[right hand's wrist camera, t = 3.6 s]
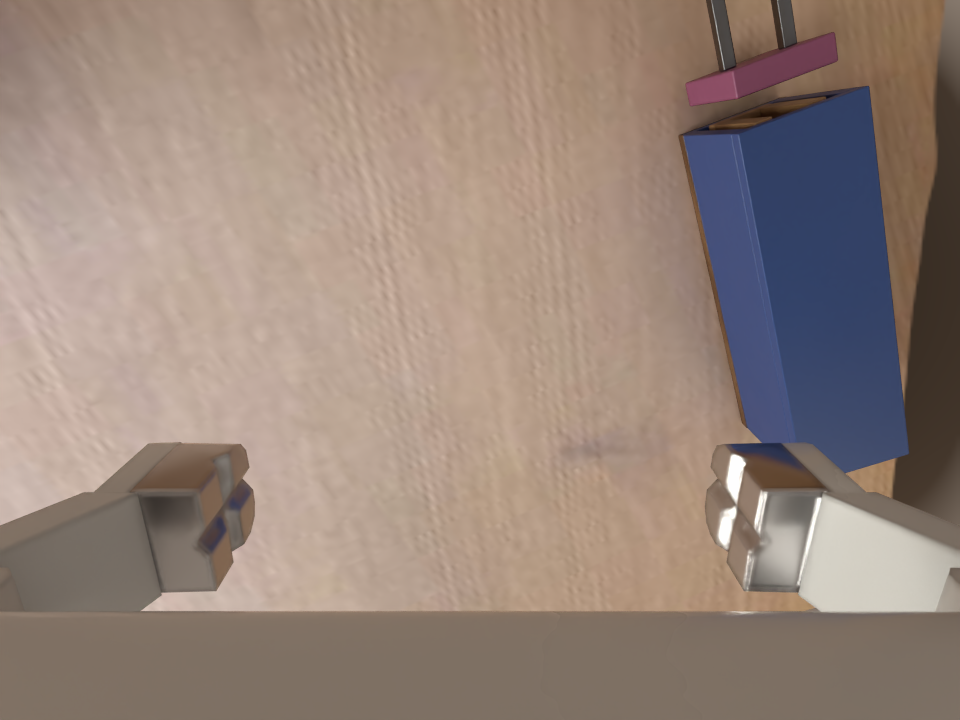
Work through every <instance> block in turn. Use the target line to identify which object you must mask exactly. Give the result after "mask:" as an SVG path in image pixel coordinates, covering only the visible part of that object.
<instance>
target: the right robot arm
mask: <svg viewBox="0 0 960 720" xmlns="http://www.w3.org/2000/svg"><path fill="white" fill-rule="evenodd" d="M248 469H249V463H248V458H247V453H246V450H245V448H244V447H243V446H242V445H241V444H213V443H181V442H173V443H151V444H147V445H146V446H145V447H144V448H143V449H142V450H141V451H140V452H138V453H137V454H136V455H135V456H134V457H133V458H132V459H131V460H129V461H128V462H127V463H126V464H125V465H124V466H123V467H122V468H120V469H119V470H118V471H117V472H116V473H115V474H114V475H113V476H111V477H110V478H109V479H108V480H107V481H106V482H105V483H104V484H103V485H101V486H100V487H99V488H98V489H97V490H96V491H95V492H84V493H81V494H79V495H76V496H74V497H71V498H69V499H66V500H64V501H61V502H58V503H56V504H53V505H51V506H48V507H46V508H43V509H41V510H38V511H36V512H33V513H31V514H28V515H26V516H23V517H21V518H18V519H16V520H13V521H11V522H8V523H5V524H3V525H0V720H960V526H959V525H957V524H954V523H952V522H949V521H947V520H944V519H942V518H939V517H937V516H934V515H932V514H929V513H927V512H924V511H921V510H919V509H917V508H914V507H912V506H909V505H906V504H904V503H901V502H899V501H896V500H894V499H891V498H889V497H886V496H884V495H881V494H879V493H876V492H865V491H864V490H863V489H862V488H861V487H860V486H859V485H858V484H856V483H855V482H854V481H853V480H852V479H851V478H850V477H849V476H847V475H846V474H845V473H844V472H843V471H842V470H841V469H840V468H839V467H837V466H836V465H835V464H834V463H833V462H832V461H831V460H830V459H828V458H827V457H826V456H825V455H824V454H823V453H822V452H821V451H819V450H818V449H817V448H816V447H815V446H814V445H813V444H809V443H806V442H798V443H750V444H722V445H717V446H716V448H715V451H714V453H713V456H712V462H711V469H712V470H713V472H714V473H715V475H716V476H717V478H718V479H717V480H716V481H715V482H714V483H713V484H712V485H711V486H710V487H709V488H708V489H707V494H706V502H705V513H706V523H707V526H708V529H709V532H710V534H711V536H712V538H713V540H714V542H715V543H716V544H717V545H718V546H720V547H722V548H723V549H725V550H726V551H728V556H727V564H728V565H729V567H730V569H731V570H732V572H733V574H734V575H735V577H736V579H737V580H738V582H739V584H740V585H741V587H742V589H743V590H744V591H760V592H797V593H799V594H798V595H799V596H800V597H802V598H803V599H804V600H806V601H807V602H809V603H810V604H811V605H813V606H814V607H815V608H817V609H818V610H819V611H141V610H142V609H144V608H145V607H146V606H148V605H149V604H150V603H152V602H153V601H154V600H156V599H157V598H158V597H160V596H161V595H162V594H161V593H163V592H199V591H217V589H218V587H219V586H220V584H221V582H222V581H223V579H224V577H225V575H226V574H227V572H228V570H229V569H230V567H231V565H232V564H233V556H232V551H234V550H235V549H237V548H238V547H240V546H242V545H243V544H244V543H245V542H246V540H247V538H248V536H249V534H250V533H251V529H252V525H253V521H254V516H255V500H254V493H253V489H252V488H251V487H250V486H249V485H248V484H247V483H246V482H245V481H244V480H243V479H242V478H243V476H244V475H245V473H246V472H247V470H248Z"/></svg>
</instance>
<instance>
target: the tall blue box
mask: <svg viewBox="0 0 960 720" xmlns="http://www.w3.org/2000/svg"><path fill="white" fill-rule="evenodd" d="M818 97H826V99H825V100H822V101H820V102H817V103H814V104H811V105H809V106H806V107H803V108H801V109H798V110H795V111H793V112H790V113H787V114H784V115H782V116H779V117H776V118H774V119H771V120H768V121H765V122H763V123H760V124H757V125H755V126H752V127H749V128H747V129H729V130H709V126H710V125H712V124H715V123H717V122H720V121H723V120H725V119H728V118H731V117H733V116H736V115H739V114H742V113H744V112H747V111H750V110H752V109H755V108H758V107H760V106H763V105H766V104H773V103H779V102H786V101H794V100H802V99H810V98H818ZM763 105H760V106H757V107H755V108H752V109H749V110H747V111H744V112H741V113H739V114H736V115H733V116H731V117H728V118H725V119H722V120H720V121H717V122H714V123H712V124H709V125H706V126H704V127H701V128H698V129H696V130H693V131H690V132H688V133H685V134H682V135H679V141H680V145H681V150H682V154H683V159H684V163H685V168H686V172H687V177H688V181H689V186H690V190H691V195H692V199H693V204H694V208H695V213H696V217H697V222H698V226H699V231H700V235H701V240H702V244H703V249H704V253H705V258H706V262H707V267H708V271H709V276H710V280H711V285H712V289H713V294H714V298H715V303H716V307H717V312H718V316H719V321H720V325H721V330H722V334H723V339H724V343H725V348H726V352H727V357H728V361H729V366H730V370H731V375H732V379H733V384H734V388H735V393H736V397H737V402H738V406H739V411H740V415H741V420H742V423H743V424H744V425H745V427H746V428H748V429H749V430H750V431H751V432H752V433H753V434H754V435H755V436H756V437H757V438H758V439H759V440H760V441H761V442H762V443H798V442H806V443H809V444H813V445H814V446H815V447H816V448H817V449H818V450H819V451H821V452H822V453H823V454H824V455H825V456H826V457H827V458H828V459H830V460H831V461H832V462H833V463H834V464H835V465H836V466H837V467H839V468H840V469H841V470H842V471H843V472H844V473H847V472H851V471H854V470H857V469H861V468H864V467H867V466H870V465H874V464H877V463H880V462H884V461H887V460H890V459H894V458H897V457H900V456H903V455H907V454H909V448H908V439H907V430H906V420H905V411H904V402H903V393H902V384H901V375H900V365H899V356H898V347H897V338H896V329H895V319H894V310H893V301H892V292H891V283H890V274H889V264H888V255H887V246H886V237H885V228H884V218H883V209H882V200H881V191H880V182H879V173H878V163H877V154H876V145H875V136H874V127H873V117H872V108H871V99H870V90H869V86H863V87H855V88H848V89H841V90H834V91H827V92H820V93H813V94H806V95H799V96H792V97H782V98H778V99H776V100H773V101H771V102H768V103H765V104H763Z"/></svg>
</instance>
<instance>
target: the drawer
mask: <svg viewBox="0 0 960 720" xmlns="http://www.w3.org/2000/svg"><path fill="white" fill-rule="evenodd" d="M706 2H707V7H708V12H709V18H710V23H711V28H712V33H713V39H714V44H715V49H716V54H717V60H718V65H719V71H716V72H713V73H711V74H708V75H706V76H703V77H700V78H698V79H695V80H693V81H690V82H687V83H686V89H687V94H688V99H689V104H690V106H696V105H702V104H708V103H714V102H721V101H727V100H733V99H739V98H741V97H744V96H747V95H749V94H752V93H755V92H757V91H760V90H763V89H765V88H768V87H771V86H773V85H776V84H779V83H781V82H784V81H787V80H789V79H792V78H794V77H797V76H800V75H802V74H805V73H808V72H810V71H813V70H816V69H818V68H821V67H824V66H826V65H829V64H832V63H834V62H836V61H838V55H837V47H836V39H835V33H834V32H831V33H828V34H825V35H821V36H818V37H815V38H812V39H808V40H805V41H802V42H798V43H797V38H796V32H795V25H794V18H793V11H792V4H791V0H771V4H772V10H773V17H774V23H775V29H776V36H777V42H778V49H775V50H772V51H769V52H766V53H763V54H761V55H758V56H755V57H753V58H750V59H748V60H745V61H742V62H740V63H737V64H736V60H735V54H734V49H733V43H732V38H731V32H730V27H729V21H728V16H727V10H726V5H725V0H706ZM825 99H826V97H818V98H810V99H802V100H794V101H786V102H779V103H773V104H766V105H763V106H760V107H758V108H755V109H752V110H750V111H747V112H744V113H742V114H739V115H736V116H733V117H731V118H728V119H725V120H723V121H720V122H717V123H715V124H712V125H710V126H709V130H729V129H747V128H749V127H752V126H755V125H757V124H760V123H763V122H765V121H768V120H771V119H774V118H776V117H779V116H782V115H784V114H787V113H790V112H793V111H795V110H798V109H801V108H803V107H806V106H809V105H811V104H814V103H817V102H820V101H822V100H825Z"/></svg>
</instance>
